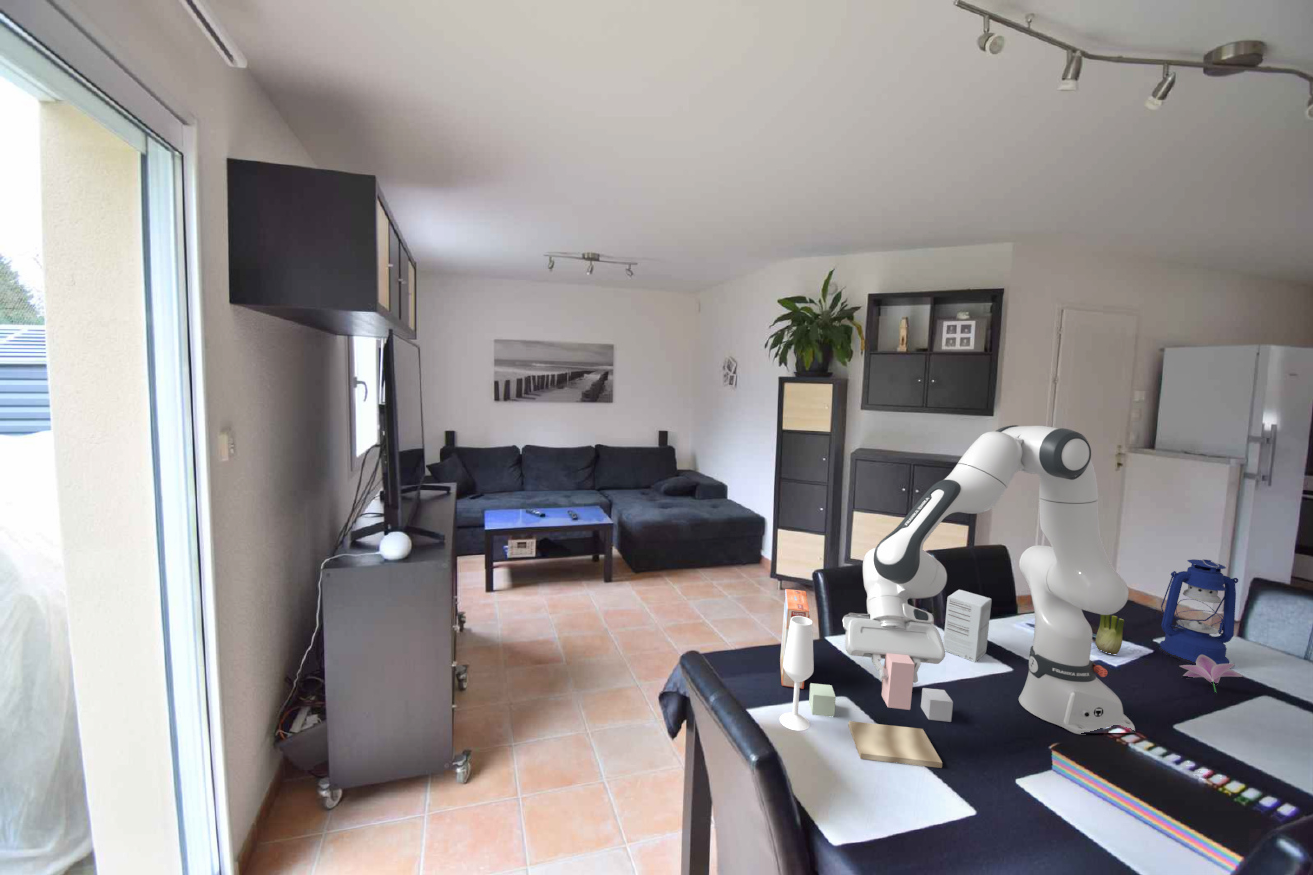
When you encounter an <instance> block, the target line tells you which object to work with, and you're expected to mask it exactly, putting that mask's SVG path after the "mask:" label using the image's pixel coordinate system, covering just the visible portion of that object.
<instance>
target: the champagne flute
mask: <svg viewBox="0 0 1313 875" xmlns="http://www.w3.org/2000/svg"><path fill="white" fill-rule="evenodd" d="M813 628H814V627H813V620H812V619H811V618H810V617H809V618H806V617H802V616H794V617H792V618H791V620H790V626H789V632H788V638H787V644H786V650H785V656H784V662H783V667H784V670H785V672H786V673H787V675H788V676H789V677H790V678H791V679H792V680H793V681H795V684H794V687H793V700H792V712H785V713H783V714H781V715H780V716H779V722H780V724H782V725H783V727H785V728H787V729H789V730H792V731H798V732H799V731H802V732H803V731H806V730H807V729H809V728H810V721H809V720H808V718H806V717H805V716H804V715H802V714H799V700H800V689H801V688H800V682H803V681H804V682H805V681H806V680H808V679H809V678H810V677H811V676H812V675H813V674H814V668H815V667H814V666H815V665H814V663H815V662H814V638H813V637H814V630H813Z"/></svg>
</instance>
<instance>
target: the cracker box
mask: <svg viewBox="0 0 1313 875" xmlns="http://www.w3.org/2000/svg"><path fill="white" fill-rule="evenodd" d="M784 590H785V591H784V604H783V616H782V618H783V619H782V629H781V630H782V631H781V645H780V656H779V657H780V658H779V662H780V663H779V664H780V678H781V680H780V682H781V686H783V687H788V688H794V684H795V681H793V680H792V679H791V678H790V677H789V676H788V675H787V673H786V672H785V670H784V667H783V662H784V656H785V650H786V644H787V638H788V632H789V626H790V620H791V618H792V617H794V616H802V617H806V618H809V619H810V617H811V616H810V615H811V609H810V604H809V600H808V595H807V591H805V590H801V589H798V590H797V589H789V588H785V589H784ZM804 688H805V680H804V681H803V682H800V689H801V690H802V689H803V690H804Z"/></svg>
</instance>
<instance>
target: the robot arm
mask: <svg viewBox="0 0 1313 875" xmlns="http://www.w3.org/2000/svg"><path fill="white" fill-rule="evenodd" d="M969 446H970V447H968V449H967V450H966V451H965V452H964V454H963V455H962V456H961V457H960V459H959V460H958V462H957V463H956V465H955V466H954V468H953V469H952V471H951V472H950V473H949V474H948V475H947V476H946V477H945V478H944V479H941V480H938V481H937V482H936V483H934V484H933V485H932V486H931V487H930V488H929V489H928V490H927V491H926V492H925V493H924V494H923V495H922V497H921V498H920V499H919V500H918V501H917V503H916V504H915V505H914V506H913V508H912V509H911V510H910V511H909V512H908V514H907V515H906V516H905V517H904V519H902V521H901V522H900V523H899V524H898V525H897V527H896V528H894V530H892V531H891V532H890V533H889V534H887V535H886V536H885V537H883V538H882V539H881V540H880V541H879V542H878V543H877V546H876V547H874V548H871V549H870V550H868V551H866V553H865V555H864V557H863V561H862V579H863V586H864V590H865V592H866V596H867V597H866V611H867V613H855V612H848V614H844V615H843V617H842V627H843V629H844V631H845V639H844V641H845V642H844V643H845V644H844V646H845V652H846V653H847V654H848V655H849V656H851V657H852V656H854V657H862V658H863V657H864V658H871V663H872V665H873V666H874V667H875V669H876V670H877V671H878V678H879V679H880V680H882V679H888V678H889V675H888V669H884V668H883V666H884V665H882V663H881V662H880V661H881V660H882V659H884V660H885V655H886V654H887V653H891V654H901V655H909V657H910V658H911V660H912V661H913V663H914V664H915V666H914V676H913V683H917V682H918V681H919V677H918V672H919V670H920V667H921V664H922V663H923V664H924V663H926V664H933V665H937V664H938V665H939V664H940V663H941V662H943V661H944V659H945V657H946V651H945V650H944V646H943V638H942V637H941V633H940V631H939V630H938V628H937V627H936V626H935V625H933V623H934V616H933V614H932V613H931V612H929V611H926V610H923V609H920V608H918V607H915V606H913V605H911V604H909V603H908V600H909V599H912V600H917V599H918V600H919V599H929V598H933V597H936V596H938V595H940V594H941V592H942V591H943V590H944V589H945V587H946V585H947V584H948V583H947V582H948V572H947V569H946V567H945V566H944V565H943V564H942V563H941V562H940V561H939V560H937V558H935V557H934V556H932V555H931V554H930V553H928V552H926V550H924V544H925V543H926V541H927V540H928V538H929V537H930V536H931V535H932V533H933V532H934V531H935V530H936V529H937V527H938V526H939V525H940V524H941V523H942V521H943V520H944V519H945V518H946V517H948V516H949V515H951V514H955V513H964V514H973V515H974V514H982V513H985V512H988V511H990V510H992V509H993V508H994V506H996V505H997V503H999V501H1000V499H1002V498H1003V495H1004V494H1005V492H1006V491H1007V489H1008V488H1009V485H1010V484H1011V482H1012V480H1013V479H1014V477H1015V474H1016V473H1018V472H1021V473H1025V474H1031V475H1032V474H1033V475H1035V474H1036V475H1038V478H1039V479H1040V480H1039V490H1038V491H1039V492H1038V493H1039V494H1038V495H1039V501H1038V502H1039V527H1040V529H1041V532H1042V534H1043V535H1044V536H1045V538H1046V539H1047V540H1048V542H1049V544H1050V545H1051V546H1049V545H1041V544H1036V545H1032V546H1030V547H1028V548H1026V549H1025V550H1024V551H1023V552H1022V553H1021V555H1020V558H1019V562H1018V565H1019V570H1020V572H1021V574H1022V576H1023V577H1024V579H1025V580H1026V582H1027V586H1028V587H1029V591H1030V596H1031V600H1032V604H1033V611H1034V632H1033V642H1032V645H1031V646H1030V649H1029V656H1028V674H1027V677H1026V681H1025V684H1024V687H1023V689H1022V691H1021V693H1020V695H1019V697H1018V701H1019V704H1020V705H1021V706H1022V707H1023V708H1024V709H1025V710H1026V711H1028V712H1029V713H1030V714H1032V715H1034V716H1036V717H1037V718H1040V719H1041V720H1043V721H1046V722H1048V723H1051V724H1054V725H1057V726H1059V727H1062V728H1064V729H1065V730H1067V731H1069V732H1071V733H1073V734H1076V735H1082V734H1081V733H1084V732H1090V731H1094V730H1097V729H1100V728H1106V727H1110V726H1113V725H1121V726H1124V727H1127V728H1131V729H1132V730H1134V731H1135V732H1136V728H1135V725H1134V723H1133V721H1131V719H1129V717H1127V715H1125V714H1124V707H1123V704H1122V701H1121V699H1120V698H1119V696H1118V695H1117V694H1116V693H1115V692H1114V691H1113V690H1112V689H1111V688H1109V686H1107V685H1106V684H1105V683H1104V682H1102V681H1101V680H1100V679H1099V678H1098V677H1097V676H1096V674H1097V675H1098V676H1099V677H1101V678H1105V677H1106V676H1107V675H1108V670H1107V669H1106V668H1105V667H1103V666H1102V665H1099V664H1097V665H1096V663H1095V662H1094V661H1093V660H1091V651H1092V644H1093V628H1092V627H1091V624H1090V623H1089V621H1088V620H1087V619H1086V616H1085V614H1084V612H1083V611H1086V612H1088V613H1089V612H1090V613H1094V614H1098V615H1100V616H1101V615H1110V616H1111V615H1114V614H1116V613H1117V612H1119V611H1121V610H1122V609H1123V608H1124V606H1125V605H1126V604H1127V602H1128V599H1129V588H1128V587H1129V586H1128V584H1127V582H1126V580H1124V579H1123V578H1122V577H1121V575H1119V573H1118V572H1117V570H1116V569H1115V567H1114V566H1113V564H1112V562H1111V560H1110V558H1109V556H1108V554H1107V551H1106V549H1105V546H1104V542H1103V540H1102V536H1101V530H1100V519H1099V518H1100V517H1099V490H1098V480H1097V476H1096V474H1097V473H1096V471H1095V467H1094V463H1093V461H1092V448H1091V446H1090V442H1089V441H1088V439H1087V437H1085V435H1083V434H1082V433H1080V432H1078V431H1075V430H1072V429H1069V428H1063V427H1062V428H1058V427H1053V426H1045V425H1017V424H1016V425H1015V424H1014V425H1006V426H1002V427H1000V428H998V429H996V430H993V431H987V432H984V433H983V434H981V435H980V436H979V437H977V438H976V439H975V441H974V442H972V444H971V445H969Z"/></svg>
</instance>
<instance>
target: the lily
mask: <svg viewBox="0 0 1313 875" xmlns="http://www.w3.org/2000/svg"><path fill="white" fill-rule="evenodd" d="M1235 665H1236V664H1235V663H1230V664H1218V665H1217V664H1216V663H1215V662H1214V661H1213V660H1212V659H1210V658H1209V657H1207V656H1205V655H1199V656H1198V658H1197V660H1196V665H1192V664H1183V665H1179V667H1180V668H1182V669H1184V670H1187V671H1186V672H1185V673H1184V674H1183V675H1182V676H1188V677H1193V678H1203V679H1204V680H1205V679H1206V681H1208V682H1209V683H1211V682H1213V684H1212V686H1213V689H1214V690H1213V691H1214V693H1215V692H1216V693H1217V688H1216V685H1215V684H1214V682H1215V683H1218V684H1219V682H1220V679H1221V677H1225V678H1226V677H1236V678H1239V677H1240V678H1241V677H1244V675H1243V674H1241V673H1240V672H1238V671H1234V670H1232V669H1231V668H1232V667H1234V666H1235Z"/></svg>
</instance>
